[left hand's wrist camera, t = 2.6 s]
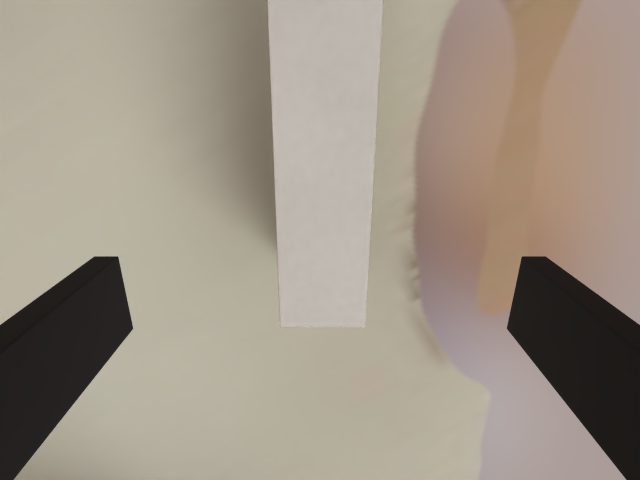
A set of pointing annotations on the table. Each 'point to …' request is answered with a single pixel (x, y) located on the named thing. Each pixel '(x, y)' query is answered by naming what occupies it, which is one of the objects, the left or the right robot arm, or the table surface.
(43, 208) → the table surface
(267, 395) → the table surface
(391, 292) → the table surface
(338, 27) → the bar
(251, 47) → the table surface
